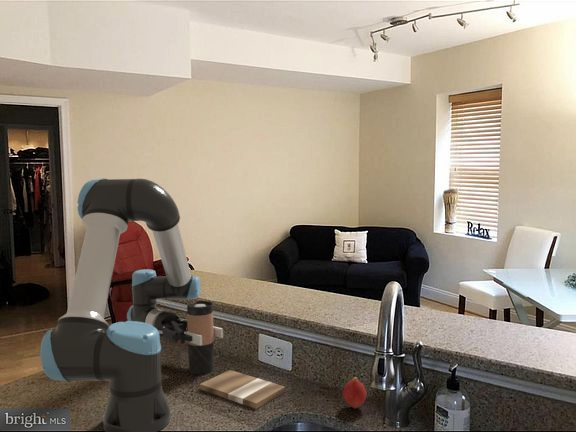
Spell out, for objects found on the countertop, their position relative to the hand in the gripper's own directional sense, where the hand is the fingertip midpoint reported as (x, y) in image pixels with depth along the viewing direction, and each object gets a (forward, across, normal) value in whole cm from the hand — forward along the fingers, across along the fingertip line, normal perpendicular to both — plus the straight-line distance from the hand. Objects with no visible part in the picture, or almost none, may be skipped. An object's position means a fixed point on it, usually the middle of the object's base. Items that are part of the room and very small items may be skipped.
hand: (211, 336), depth 148 cm
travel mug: (-5, 0, -11) cm, 12 cm away
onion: (+44, -7, -11) cm, 46 cm away
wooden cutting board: (+15, +3, -11) cm, 19 cm away
